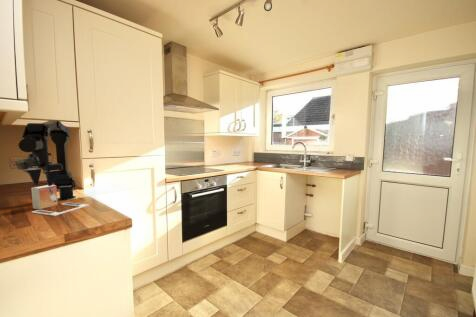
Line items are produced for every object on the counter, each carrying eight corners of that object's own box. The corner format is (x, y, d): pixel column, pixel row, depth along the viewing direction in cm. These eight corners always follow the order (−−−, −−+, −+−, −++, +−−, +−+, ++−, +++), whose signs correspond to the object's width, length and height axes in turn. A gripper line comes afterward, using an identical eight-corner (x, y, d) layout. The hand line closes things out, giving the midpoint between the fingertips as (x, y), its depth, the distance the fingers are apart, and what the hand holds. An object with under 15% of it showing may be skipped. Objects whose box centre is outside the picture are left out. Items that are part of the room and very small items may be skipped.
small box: (40, 209, 106) (38, 188, 105) (32, 208, 108) (30, 187, 107) (58, 204, 114) (56, 185, 113) (50, 204, 116) (49, 184, 115)
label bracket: (31, 212, 102) (31, 211, 102) (67, 202, 117) (67, 202, 117) (54, 215, 97) (54, 214, 97) (88, 205, 113) (88, 204, 112)
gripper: (3, 152, 94) (7, 187, 95) (32, 152, 88) (36, 190, 90) (34, 150, 104) (37, 182, 106) (62, 151, 99) (64, 185, 100)
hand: (42, 185), depth 100 cm, fingers open, 9 cm apart
